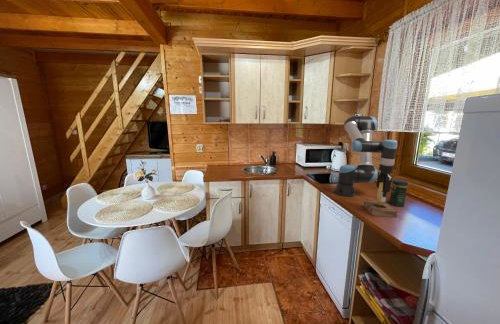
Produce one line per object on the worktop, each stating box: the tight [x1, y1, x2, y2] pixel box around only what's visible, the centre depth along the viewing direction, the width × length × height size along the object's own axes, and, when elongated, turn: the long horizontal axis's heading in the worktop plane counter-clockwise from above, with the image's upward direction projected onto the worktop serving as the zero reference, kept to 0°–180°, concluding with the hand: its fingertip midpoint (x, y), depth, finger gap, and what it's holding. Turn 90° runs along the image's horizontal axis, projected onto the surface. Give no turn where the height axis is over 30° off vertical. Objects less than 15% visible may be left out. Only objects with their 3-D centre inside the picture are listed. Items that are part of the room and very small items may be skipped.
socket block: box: [363, 200, 398, 218], centre depth 136 cm, size 14×14×4 cm
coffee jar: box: [389, 178, 409, 207], centre depth 148 cm, size 10×8×19 cm
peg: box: [375, 182, 386, 205], centre depth 134 cm, size 4×4×14 cm
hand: (380, 199), depth 134 cm, fingers closed on peg, 4 cm apart
